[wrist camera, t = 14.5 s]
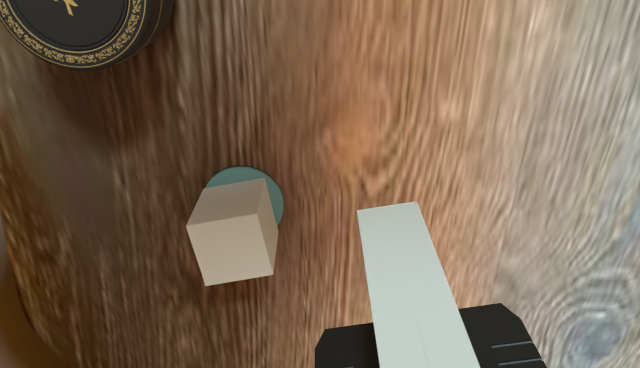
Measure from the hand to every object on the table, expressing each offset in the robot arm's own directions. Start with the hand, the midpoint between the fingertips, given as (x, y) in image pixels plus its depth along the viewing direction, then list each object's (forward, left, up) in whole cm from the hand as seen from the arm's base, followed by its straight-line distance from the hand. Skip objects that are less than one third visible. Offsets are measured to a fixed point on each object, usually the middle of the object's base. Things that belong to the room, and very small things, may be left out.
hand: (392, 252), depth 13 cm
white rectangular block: (+11, -10, -28) cm, 32 cm away
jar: (-8, -15, -29) cm, 34 cm away
